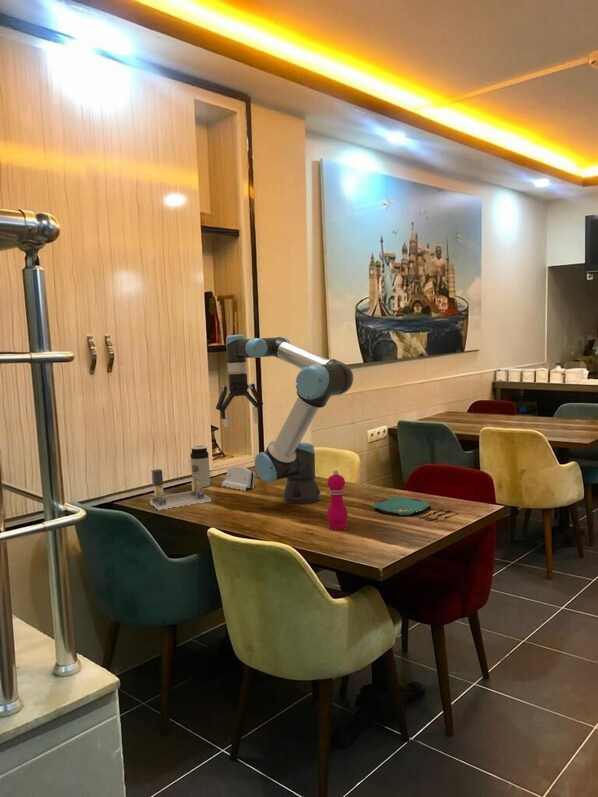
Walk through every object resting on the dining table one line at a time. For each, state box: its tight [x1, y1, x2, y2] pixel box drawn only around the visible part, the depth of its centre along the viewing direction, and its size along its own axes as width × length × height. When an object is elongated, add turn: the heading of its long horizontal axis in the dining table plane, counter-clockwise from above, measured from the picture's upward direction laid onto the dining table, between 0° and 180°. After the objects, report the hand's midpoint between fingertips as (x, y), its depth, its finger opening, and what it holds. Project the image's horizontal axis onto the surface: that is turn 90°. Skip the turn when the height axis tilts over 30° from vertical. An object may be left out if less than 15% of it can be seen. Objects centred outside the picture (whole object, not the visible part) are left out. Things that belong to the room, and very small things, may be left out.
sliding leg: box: [151, 468, 164, 497], centre depth 258 cm, size 4×8×11 cm, turn 28°
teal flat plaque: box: [372, 496, 431, 516], centre depth 236 cm, size 20×30×2 cm, turn 44°
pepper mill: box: [326, 469, 349, 531], centre depth 219 cm, size 7×7×20 cm
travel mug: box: [190, 444, 211, 488], centre depth 289 cm, size 8×8×18 cm
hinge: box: [221, 466, 256, 492], centre depth 285 cm, size 17×5×10 cm, turn 46°
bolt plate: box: [149, 478, 212, 511], centre depth 261 cm, size 22×12×8 cm, turn 118°
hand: (241, 425), depth 262 cm, fingers open, 13 cm apart
